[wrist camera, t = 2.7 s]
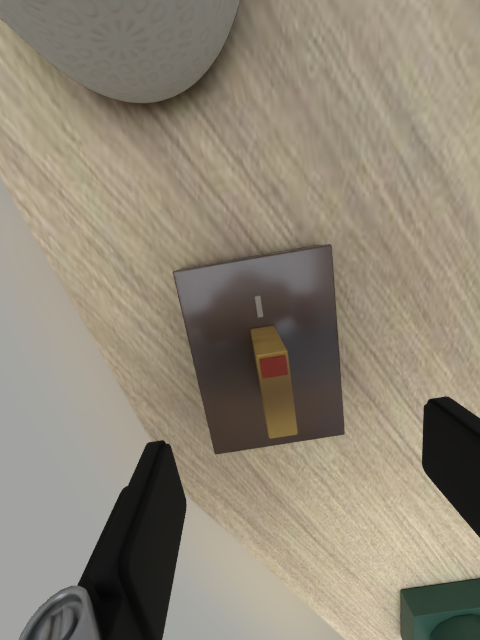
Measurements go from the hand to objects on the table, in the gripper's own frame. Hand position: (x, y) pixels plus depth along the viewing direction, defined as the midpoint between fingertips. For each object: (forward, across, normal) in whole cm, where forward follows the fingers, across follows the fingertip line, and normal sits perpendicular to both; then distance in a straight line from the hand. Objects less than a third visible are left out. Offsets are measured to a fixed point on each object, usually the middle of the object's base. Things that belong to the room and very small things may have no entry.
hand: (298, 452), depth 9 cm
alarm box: (+11, -16, +35) cm, 40 cm away
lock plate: (+12, 0, 0) cm, 12 cm away
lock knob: (+9, 0, 0) cm, 9 cm away
